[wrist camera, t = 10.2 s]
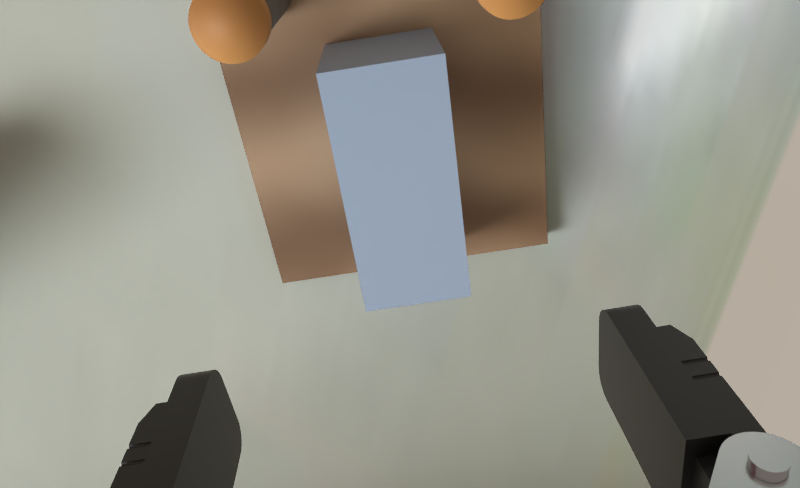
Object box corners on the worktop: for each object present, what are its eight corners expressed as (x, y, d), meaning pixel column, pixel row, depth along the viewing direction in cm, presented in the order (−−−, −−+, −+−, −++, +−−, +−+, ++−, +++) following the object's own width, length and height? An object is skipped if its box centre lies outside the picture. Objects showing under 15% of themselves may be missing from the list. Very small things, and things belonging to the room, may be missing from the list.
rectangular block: (431, 27, 23) (445, 53, 19) (455, 238, 27) (471, 296, 23) (324, 44, 23) (315, 73, 19) (366, 252, 27) (365, 311, 23)
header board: (543, 235, 28) (597, 337, 21) (284, 273, 28) (259, 386, 22) (528, -187, 20) (607, -233, 14) (172, -127, 21) (78, -143, 14)
